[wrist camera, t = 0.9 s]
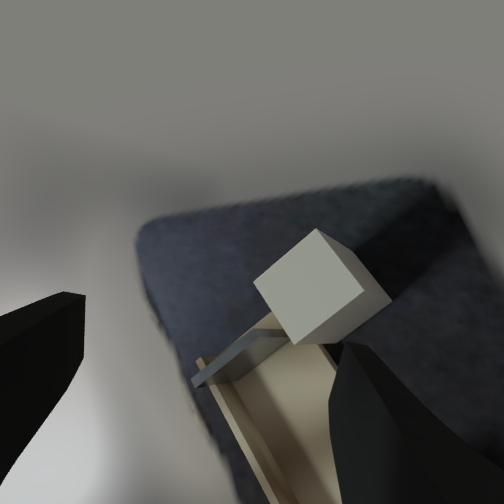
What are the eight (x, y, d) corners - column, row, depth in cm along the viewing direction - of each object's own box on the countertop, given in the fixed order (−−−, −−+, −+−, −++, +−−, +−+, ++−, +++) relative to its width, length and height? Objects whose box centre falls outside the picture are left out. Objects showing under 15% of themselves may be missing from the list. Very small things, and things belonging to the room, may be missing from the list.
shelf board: (487, 585, 22) (487, 619, 19) (376, 640, 24) (362, 678, 21) (292, 300, 29) (273, 296, 27) (219, 359, 31) (195, 361, 29)
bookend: (294, 337, 28) (258, 337, 24) (238, 380, 29) (195, 388, 25) (289, 329, 28) (253, 328, 24) (234, 372, 29) (190, 379, 25)
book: (392, 301, 26) (364, 290, 20) (336, 343, 28) (293, 344, 22) (352, 251, 28) (315, 228, 22) (301, 293, 29) (253, 281, 23)
